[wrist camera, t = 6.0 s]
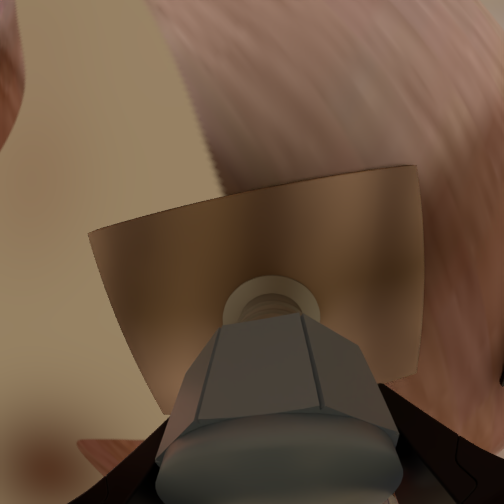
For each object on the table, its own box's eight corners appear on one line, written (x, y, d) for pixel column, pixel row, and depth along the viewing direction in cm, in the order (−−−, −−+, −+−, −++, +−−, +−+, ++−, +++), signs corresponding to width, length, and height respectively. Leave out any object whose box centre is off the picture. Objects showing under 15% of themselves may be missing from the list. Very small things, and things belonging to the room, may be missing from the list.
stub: (406, 165, 12) (469, 166, 7) (410, 364, 15) (443, 416, 10) (97, 229, 14) (36, 256, 9) (167, 404, 17) (146, 460, 12)
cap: (357, 299, 8) (426, 409, 3) (358, 423, 9) (385, 515, 5) (168, 332, 8) (108, 443, 4) (218, 443, 10) (203, 535, 5)
